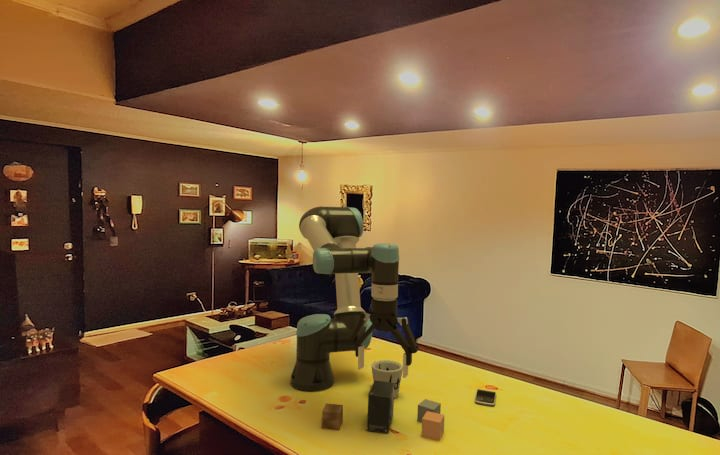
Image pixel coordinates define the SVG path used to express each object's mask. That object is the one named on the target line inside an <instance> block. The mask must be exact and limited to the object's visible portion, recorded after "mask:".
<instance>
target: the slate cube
mask: <svg viewBox="0 0 720 455" xmlns="http://www.w3.org/2000/svg"><path fill="white" fill-rule="evenodd" d="M441 405H442V404H441V402H437V401H434V400H432V399H431V400H430V399H426V398H425V399H423V400H422V401H421V402H420V403H418V404H417V415H416V416H417V417H416V418H417V423H420V424H422V418H423V416H424V415H425V413H426V412H427V411H429V412H434V413H438V414H441V409H442V406H441Z"/></svg>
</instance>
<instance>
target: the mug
mask: <svg viewBox="0 0 720 455" xmlns="http://www.w3.org/2000/svg"><path fill="white" fill-rule="evenodd" d="M371 374H372V381H373V383H374V381H375V380H376V381H383V382H391V383H394V399H396V398H397V397H398V396H399V392H400V387H401V386H400V385H401V380H402V377H403V364H402V363H400V362H398V361H395V360H389V359H387V360H386V359H382V360H377V361H374V362H372V364H371Z"/></svg>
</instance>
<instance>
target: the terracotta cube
mask: <svg viewBox="0 0 720 455" xmlns="http://www.w3.org/2000/svg"><path fill="white" fill-rule="evenodd" d="M444 433H445V414H442V413H440V414H438V413H434V412H429V411H427V412H426V413H425V415H424V416H423V418H422V423H421V437H423V438H426V439H430V440H434V441H438V442H440V441H441V439H442V437H443V435H444Z"/></svg>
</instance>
